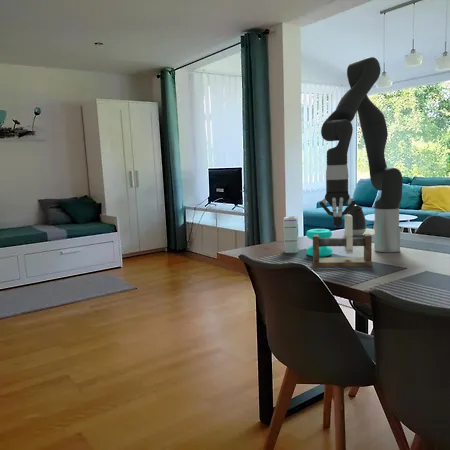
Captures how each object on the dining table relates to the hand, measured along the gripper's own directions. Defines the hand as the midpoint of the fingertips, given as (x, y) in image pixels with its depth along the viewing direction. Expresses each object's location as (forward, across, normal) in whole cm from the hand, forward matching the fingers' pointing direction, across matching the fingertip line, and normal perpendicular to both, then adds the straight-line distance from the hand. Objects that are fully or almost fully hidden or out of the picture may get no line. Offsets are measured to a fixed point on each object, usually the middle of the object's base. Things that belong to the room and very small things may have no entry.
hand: (337, 226), depth 154 cm
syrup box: (+14, +17, -23) cm, 32 cm away
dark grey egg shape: (+14, -14, -61) cm, 64 cm away
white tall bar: (+9, -4, 0) cm, 10 cm away
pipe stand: (+14, -1, 0) cm, 14 cm away
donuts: (+14, +6, -16) cm, 22 cm away
